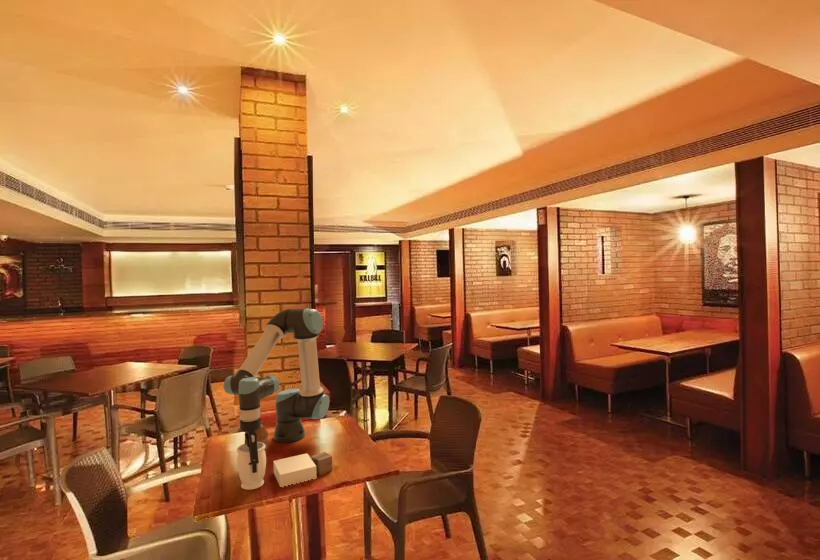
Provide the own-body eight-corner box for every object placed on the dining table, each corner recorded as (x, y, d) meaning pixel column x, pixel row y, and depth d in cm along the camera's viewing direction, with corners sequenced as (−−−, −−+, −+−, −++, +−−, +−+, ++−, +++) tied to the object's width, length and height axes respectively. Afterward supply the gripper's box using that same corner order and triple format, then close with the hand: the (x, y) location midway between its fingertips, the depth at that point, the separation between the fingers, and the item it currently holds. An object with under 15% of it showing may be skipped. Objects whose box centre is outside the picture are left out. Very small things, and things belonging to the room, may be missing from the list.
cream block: (273, 472, 177) (273, 460, 177) (307, 464, 184) (307, 453, 183) (280, 487, 165) (280, 474, 165) (316, 478, 171) (316, 466, 171)
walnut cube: (312, 470, 179) (311, 456, 178) (324, 465, 183) (324, 451, 182) (319, 475, 174) (319, 460, 174) (332, 470, 178) (331, 455, 178)
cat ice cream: (256, 470, 180) (255, 427, 180) (244, 466, 184) (242, 424, 184) (273, 461, 188) (271, 420, 187) (261, 458, 192) (259, 417, 191)
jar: (272, 479, 171) (270, 442, 171) (257, 492, 161) (255, 453, 161) (248, 477, 174) (246, 440, 173) (232, 490, 164) (230, 451, 163)
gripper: (236, 411, 176) (238, 463, 177) (243, 430, 154) (245, 489, 155) (255, 408, 180) (257, 459, 180) (265, 426, 158) (267, 484, 158)
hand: (251, 473), depth 167 cm, fingers open, 13 cm apart
